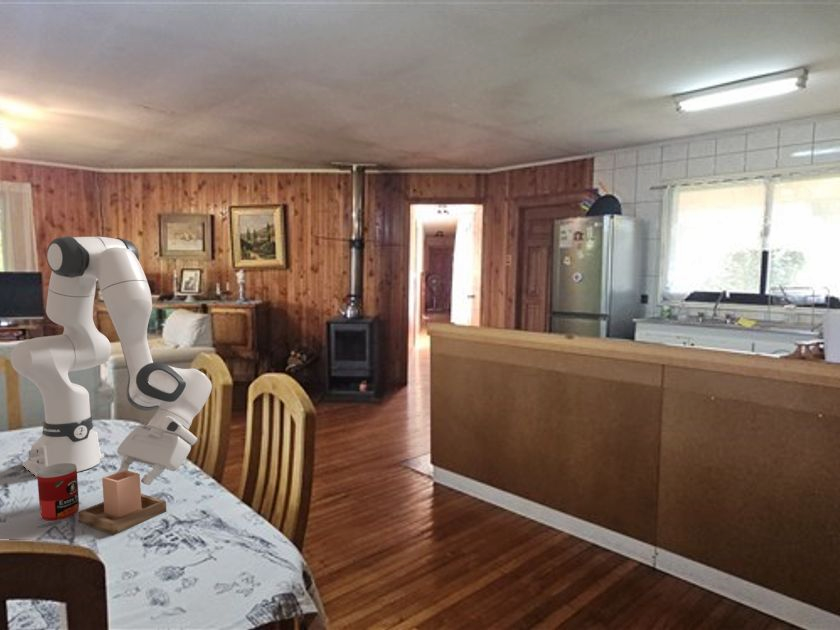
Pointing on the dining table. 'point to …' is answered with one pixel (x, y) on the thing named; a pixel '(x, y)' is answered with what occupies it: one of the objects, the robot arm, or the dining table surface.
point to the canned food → (58, 491)
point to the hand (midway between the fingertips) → (132, 479)
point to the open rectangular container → (121, 494)
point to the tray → (112, 526)
